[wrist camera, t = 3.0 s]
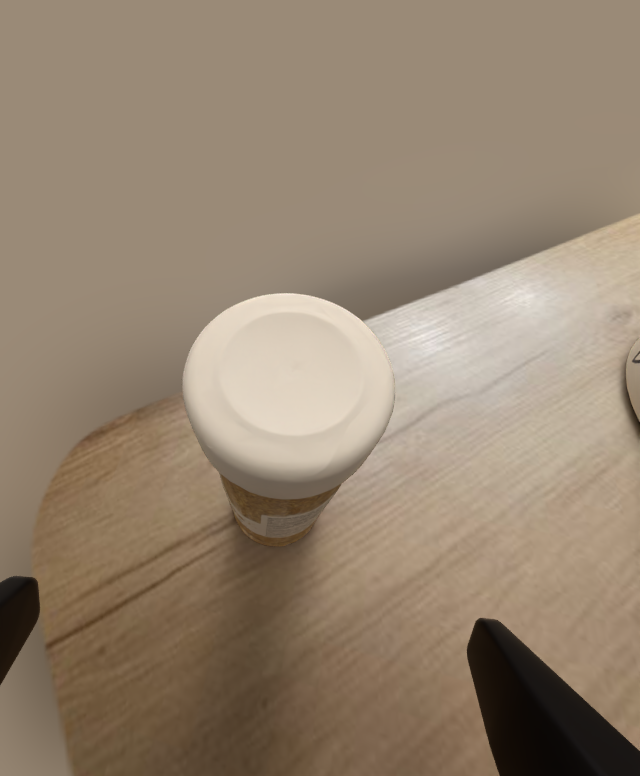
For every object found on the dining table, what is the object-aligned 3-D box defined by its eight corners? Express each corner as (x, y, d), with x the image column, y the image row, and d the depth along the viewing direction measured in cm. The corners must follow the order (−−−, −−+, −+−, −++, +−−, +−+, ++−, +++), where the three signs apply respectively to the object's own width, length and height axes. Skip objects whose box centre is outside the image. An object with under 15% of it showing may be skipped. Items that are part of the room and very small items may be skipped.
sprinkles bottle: (226, 470, 20) (166, 297, 8) (308, 450, 21) (360, 273, 9) (242, 561, 18) (194, 508, 6) (331, 534, 19) (436, 445, 7)
